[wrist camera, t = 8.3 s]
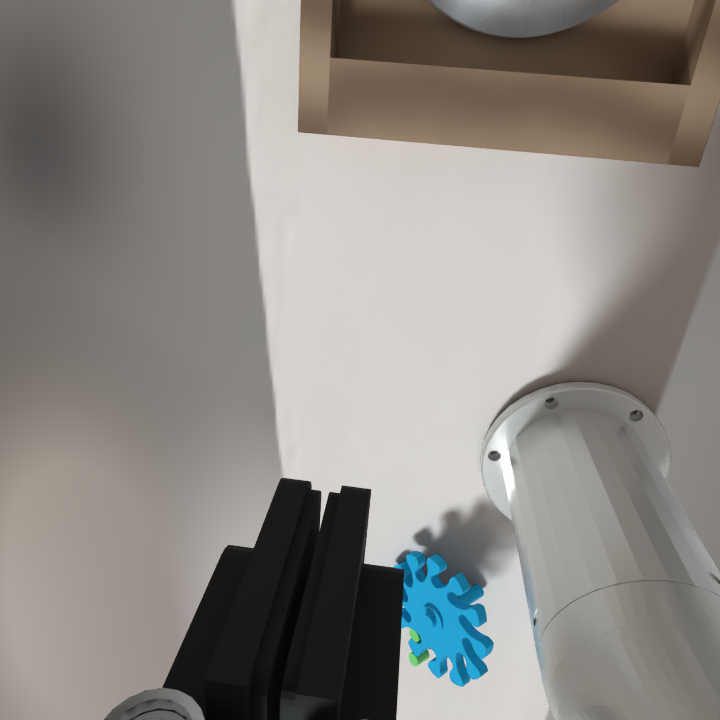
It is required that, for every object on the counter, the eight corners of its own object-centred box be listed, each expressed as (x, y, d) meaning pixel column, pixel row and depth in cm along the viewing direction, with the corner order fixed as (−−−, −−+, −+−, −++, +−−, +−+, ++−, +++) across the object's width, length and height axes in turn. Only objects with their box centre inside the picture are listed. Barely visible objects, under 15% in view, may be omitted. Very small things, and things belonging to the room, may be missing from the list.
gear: (409, 530, 43) (502, 649, 38) (462, 506, 47) (553, 611, 41) (366, 608, 50) (441, 719, 44) (416, 581, 53) (490, 680, 48)
